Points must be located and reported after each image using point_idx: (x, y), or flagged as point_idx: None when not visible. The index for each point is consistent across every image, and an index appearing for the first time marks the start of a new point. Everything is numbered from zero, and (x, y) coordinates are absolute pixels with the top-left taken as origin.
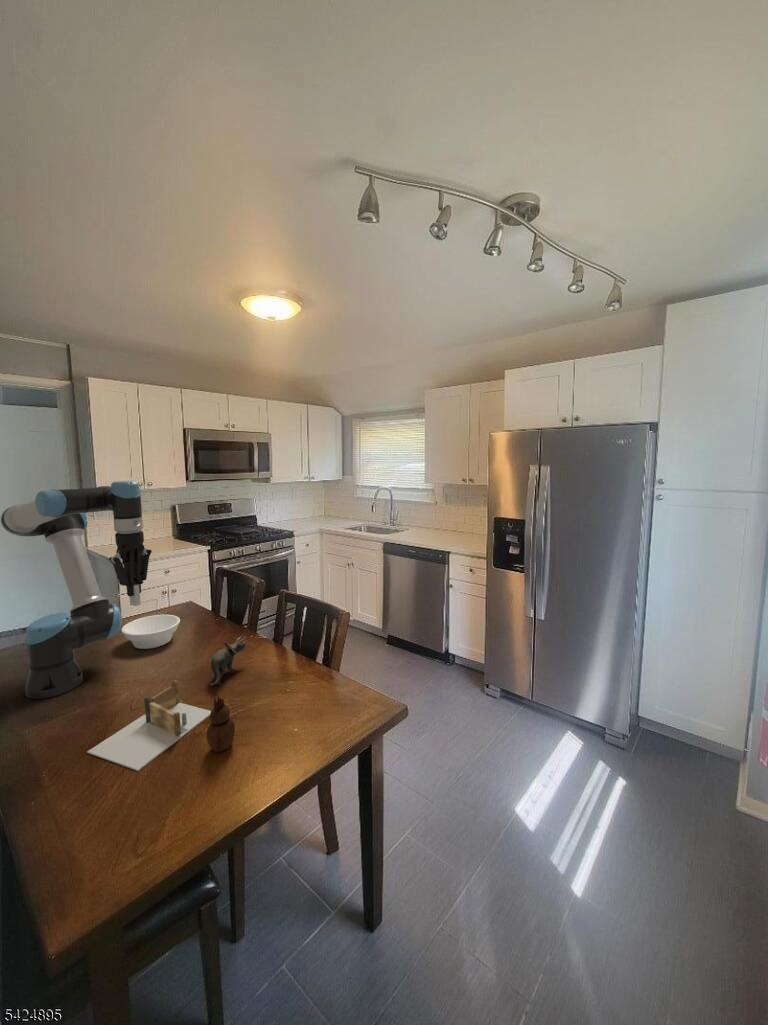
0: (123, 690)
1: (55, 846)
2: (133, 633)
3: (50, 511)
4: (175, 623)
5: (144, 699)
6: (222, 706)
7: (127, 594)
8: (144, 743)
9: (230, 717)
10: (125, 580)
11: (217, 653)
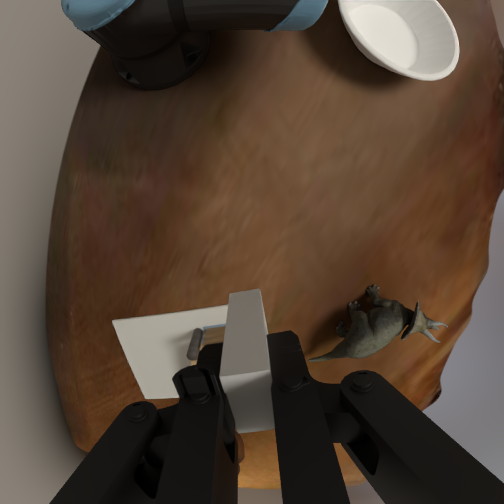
0: (227, 181)
1: (75, 403)
2: None
3: None
4: (444, 55)
5: (186, 355)
6: None
7: (200, 353)
8: (168, 370)
9: (240, 461)
10: (148, 487)
11: (371, 345)
